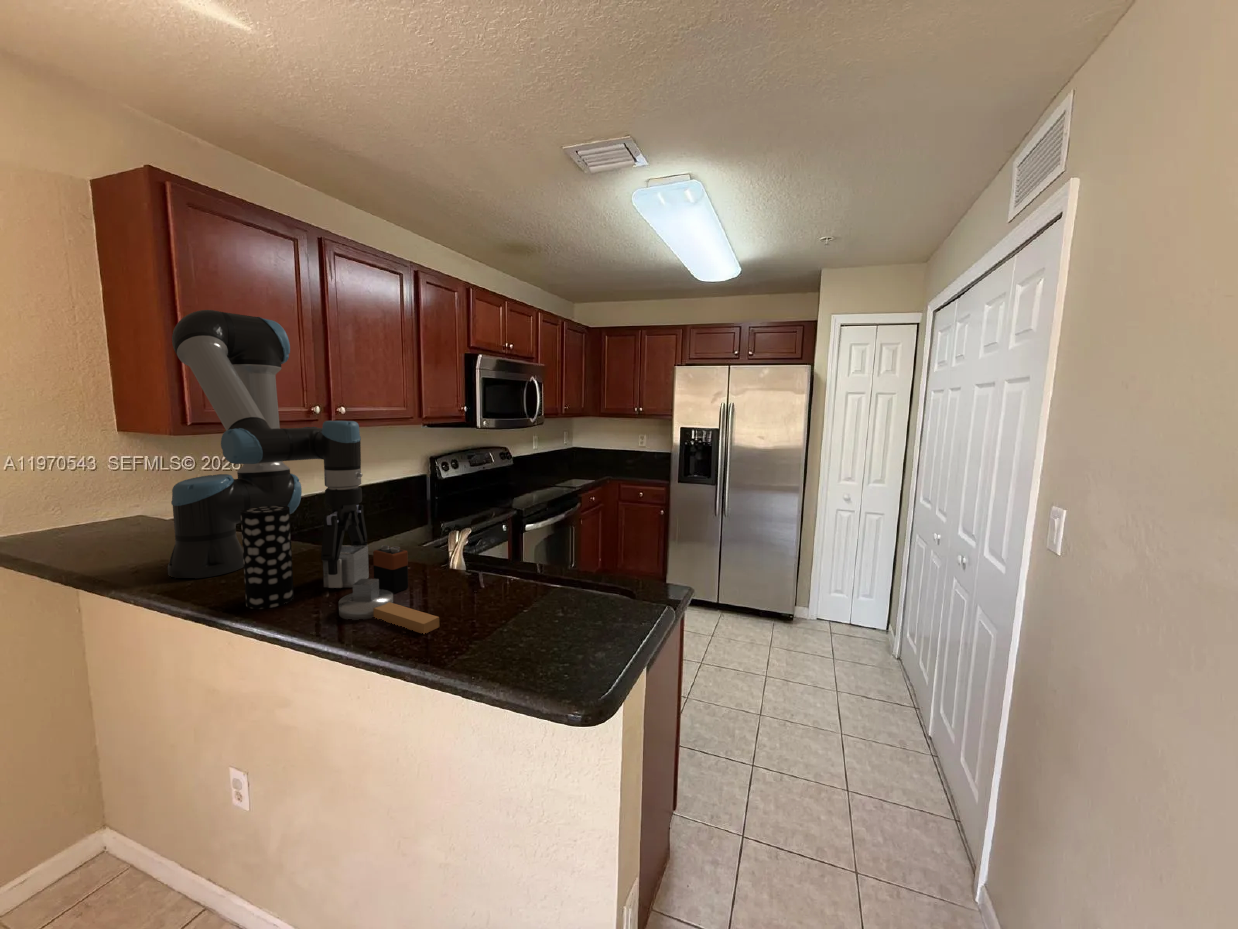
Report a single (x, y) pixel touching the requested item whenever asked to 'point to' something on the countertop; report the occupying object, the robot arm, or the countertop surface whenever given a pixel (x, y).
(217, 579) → the countertop surface
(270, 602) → the white-spotted black cylinder
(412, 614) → the ratchet
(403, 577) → the battery
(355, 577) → the recessed metal cube
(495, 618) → the countertop surface
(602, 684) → the countertop surface
